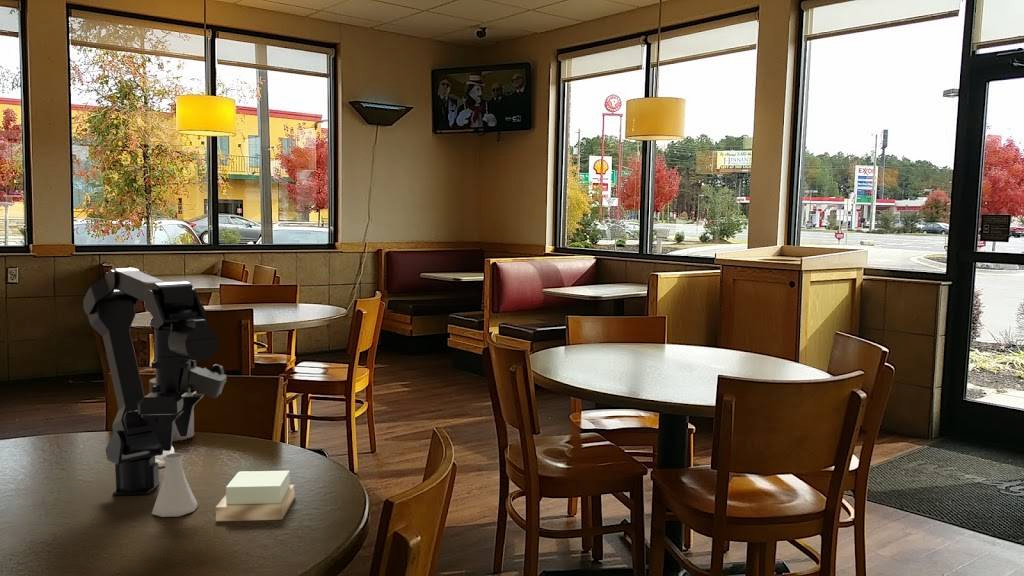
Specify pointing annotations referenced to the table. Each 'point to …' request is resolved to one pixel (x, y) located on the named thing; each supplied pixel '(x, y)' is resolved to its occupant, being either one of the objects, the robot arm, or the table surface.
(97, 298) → the robot arm
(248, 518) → the tower base
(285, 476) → the tower top
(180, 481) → the flask
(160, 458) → the rose
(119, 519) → the table surface
